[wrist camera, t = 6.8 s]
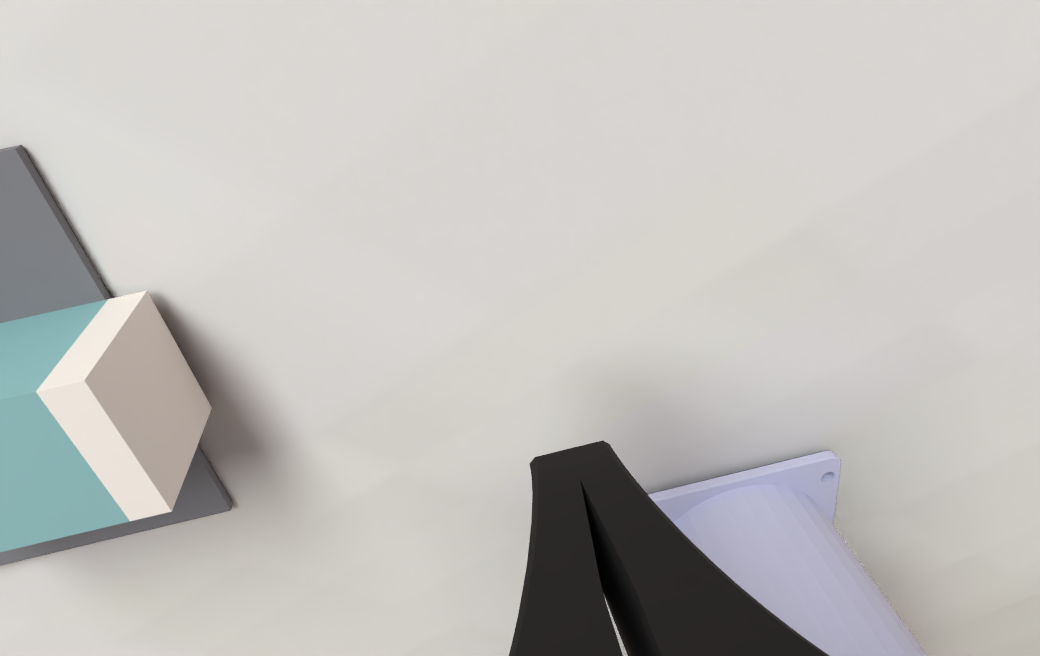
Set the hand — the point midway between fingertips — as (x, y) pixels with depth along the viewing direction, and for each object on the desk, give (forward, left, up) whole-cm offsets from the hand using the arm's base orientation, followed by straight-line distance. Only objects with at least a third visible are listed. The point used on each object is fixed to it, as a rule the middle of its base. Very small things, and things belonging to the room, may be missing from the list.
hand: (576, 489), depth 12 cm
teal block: (0, +9, -6) cm, 11 cm away
